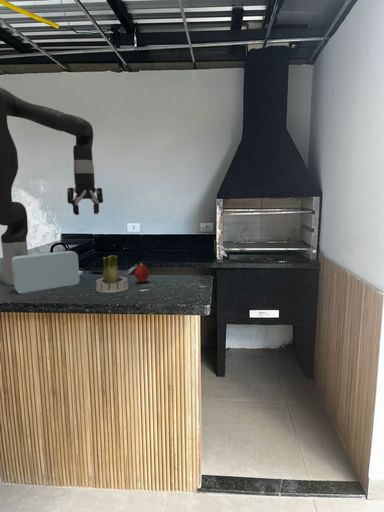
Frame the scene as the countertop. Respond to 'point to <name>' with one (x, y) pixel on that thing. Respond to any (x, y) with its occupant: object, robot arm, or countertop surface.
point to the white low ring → (112, 285)
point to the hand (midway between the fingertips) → (86, 214)
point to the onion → (141, 273)
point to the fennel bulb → (110, 269)
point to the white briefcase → (45, 271)
